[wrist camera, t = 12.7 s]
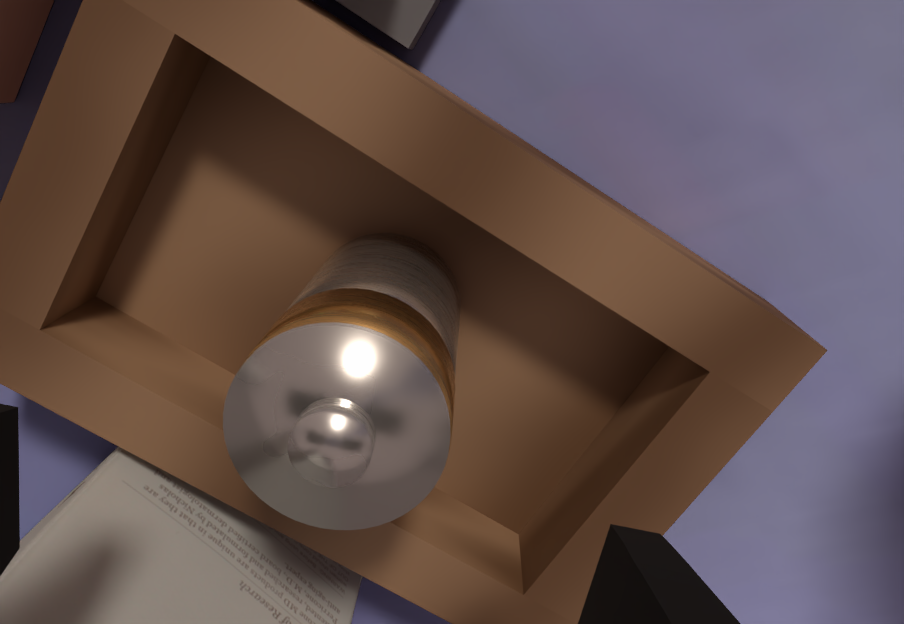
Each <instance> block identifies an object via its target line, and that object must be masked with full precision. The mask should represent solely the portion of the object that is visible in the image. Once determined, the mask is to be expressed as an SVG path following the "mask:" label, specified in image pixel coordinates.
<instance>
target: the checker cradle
mask: <svg viewBox="0 0 904 624" xmlns="http://www.w3.org/2000/svg"><path fill="white" fill-rule="evenodd" d="M336 1H337V2H339V3H340V4H342V5H343V6H345V7H346V8H348V9H349V10H351V11H352V12H354V13H355V14H357V15H358V16H360V17H361V18H363V19H364V20H366V21H367V22H369V23H370V24H372V25H373V26H375V27H376V28H378V29H379V30H381V31H382V32H384V33H385V34H387V35H388V36H390V37H392V38H393V39H395V40H396V41H398V42H399V43H401V44H402V45H404V46H405V47H407V48H408V49H412V50H413V48H414V47H415V45H416V43H417V41H418V40H419V38H420V36H421V34H422V33H423V31H424V29H425V27H426V26H427V24H428V22H429V20H430V19H431V17H432V15H433V13H434V12H435V10H436V8H437V6H438V5H439V3H440V1H441V0H336Z"/></svg>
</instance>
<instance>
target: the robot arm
mask: <svg viewBox="0 0 904 624" xmlns="http://www.w3.org/2000/svg"><path fill="white" fill-rule="evenodd" d="M19 548H20V536H19V441H18V407H14V406H9V405H4V404H0V576H1V575H2V573H3V572H4V570H5V569H6V567H7V566H8V564H9V563H10V561H11V560H12V559H13V557H14V556H15V554H16V553H17V551H18V550H19ZM578 624H740V623H739V621H738V620H737V619H736V618H735V617H734V616H733V615H732V613H731V612H730V611H729V610H728V609H727V608H726V607H725V605H724V604H723V603H722V602H721V601H720V600H719V599H718V597H717V596H716V595H715V594H714V593H713V592H712V591H711V589H710V588H709V587H708V586H707V585H706V584H705V583H704V581H703V580H702V579H701V578H700V577H699V576H698V575H697V573H696V572H695V571H694V570H693V569H692V568H691V567H690V565H689V564H688V563H687V562H686V561H685V560H684V559H683V558H682V556H681V555H680V554H679V553H678V552H677V551H676V550H675V549H674V548H673V547H672V545H671V544H670V543H669V542H668V541H667V540H666V539H665V538H664V537H663V536H662V535H661V534H659V533H654V532H649V531H644V530H639V529H634V528H629V527H624V526H619V525H614V524H610V527H609V530H608V534H607V537H606V540H605V543H604V546H603V549H602V552H601V555H600V558H599V561H598V564H597V567H596V570H595V573H594V576H593V579H592V582H591V585H590V588H589V591H588V594H587V597H586V600H585V604H584V607H583V610H582V613H581V616H580V619H579V622H578Z"/></svg>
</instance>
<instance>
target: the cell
mask: <svg viewBox="0 0 904 624" xmlns="http://www.w3.org/2000/svg"><path fill="white" fill-rule="evenodd" d="M460 313H461V300H460V293H459V289H458V285H457V282H456V280H455V278H454V275H453V273H452V272H451V270H450V268H449V267H448V265H447V264H446V263H445V262H444V260H443V259H442V258H441V257H440V256H439V255H438V254H437V253H436V252H435V251H434V250H432V249H431V248H429V247H428V246H427V245H425V244H423V243H421V242H420V241H418V240H415V239H413V238H410V237H408V236H404V235H400V234H393V233H374V234H368V235H364V236H361V237H358V238H355V239H353V240H351V241H349V242H347V243H345V244H344V245H342V246H341V247H339V248H338V249H337V250H336V251H334V252H333V254H332V255H331V256H330V257H329V258H328V259H327V260H326V261H325V263H324V264H323V265H322V266H321V268H320V269H319V270H318V271H317V273H316V274H315V275H314V276H313V278H312V279H311V280H310V281H309V283H308V284H307V285H306V286H305V288H304V289H303V290H302V291H301V293H300V294H299V295H298V296H297V298H296V299H295V300H294V301H293V303H292V304H291V305H290V306H289V308H288V309H287V310H286V311H285V313H284V314H283V315H282V316H281V317H280V318H279V319H278V320H277V321H276V322H275V323H274V325H273V326H272V327H271V328H270V330H269V331H268V332H267V333H266V334H265V336H264V337H263V338H262V339H261V341H260V342H259V343H258V344H257V346H256V347H255V348H254V349H253V351H252V352H251V353H250V354H249V356H248V357H247V358H246V359H245V361H244V362H243V364H242V365H241V367H240V368H239V369H238V371H237V373H236V375H235V377H234V379H233V381H232V383H231V385H230V387H229V390H228V393H227V396H226V399H225V404H224V411H223V431H224V438H225V443H226V446H227V450H228V453H229V456H230V458H231V460H232V462H233V465H234V467H235V468H236V470H237V472H238V473H239V475H240V477H241V478H242V479H243V481H244V482H245V483H246V484H247V486H248V487H249V488H250V489H251V490H252V491H253V492H254V493H255V494H256V495H257V496H258V497H259V498H260V499H261V500H262V501H264V502H265V503H266V504H268V505H269V506H270V507H272V508H273V509H275V510H276V511H278V512H280V513H281V514H283V515H285V516H287V517H289V518H291V519H293V520H295V521H298V522H301V523H304V524H307V525H310V526H315V527H319V528H324V529H332V530H358V529H366V528H370V527H375V526H379V525H382V524H385V523H388V522H390V521H393V520H395V519H397V518H399V517H401V516H403V515H404V514H406V513H407V512H409V511H410V510H412V509H413V508H415V507H416V506H417V505H418V504H419V503H420V502H421V501H423V500H424V499H425V497H426V496H427V495H428V494H429V493H430V492H431V490H432V489H433V488H434V486H435V485H436V483H437V481H438V480H439V478H440V476H441V474H442V472H443V469H444V467H445V464H446V460H447V457H448V453H449V450H450V445H451V437H452V426H453V413H454V401H455V374H456V362H457V350H458V338H459V325H460Z"/></svg>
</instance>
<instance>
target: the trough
mask: <svg viewBox="0 0 904 624" xmlns="http://www.w3.org/2000/svg"><path fill="white" fill-rule="evenodd" d="M374 233H393V234H400V235H404V236H408V237H410V238H413V239H415V240H418V241H420V242H421V243H423V244H425V245H427V246H428V247H429V248H431V249H432V250H434V251H435V252H436V253H437V254H438V255H439V256H440V257H441V258H442V259H443V260H444V262H445V263H446V264H447V265H448V267H449V268H450V270H451V272H452V273H453V275H454V278H455V280H456V282H457V285H458V289H459V293H460V300H461V313H460V325H459V338H458V350H457V362H456V374H455V401H454V413H453V426H452V437H451V445H450V450H449V453H448V457H447V460H446V464H445V467H444V469H443V472H442V474H441V476H440V478H439V480H438V481H437V483H436V485H435V486H434V488H433V489H432V490H431V492H430V493H429V494H428V495H427V496H426V497H425V499H424V500H423V501H421V502H420V503H419V504H418V505H417V506H416V507H415V508H413V509H412V510H410V511H409V512H407V513H406V514H404V515H403V516H401V517H399V518H397V519H395V520H393V521H390V522H388V523H385V524H382V525H379V526H375V527H370V528H366V529H358V530H332V529H324V528H319V527H315V526H310V525H307V524H304V523H301V522H298V521H295V520H293V519H291V518H289V517H287V516H285V515H283V514H281V513H280V512H278V511H276V510H275V509H273V508H272V507H270V506H269V505H268V504H266V503H265V502H264V501H262V500H261V499H260V498H259V497H258V496H257V495H256V494H255V493H254V492H253V491H252V490H251V489H250V488H249V487H248V486H247V484H246V483H245V482H244V481H243V479H242V478H241V477H240V475H239V473H238V472H237V470H236V468H235V467H234V465H233V462H232V460H231V458H230V456H229V453H228V450H227V446H226V443H225V438H224V431H223V411H224V404H225V399H226V396H227V393H228V390H229V387H230V385H231V383H232V381H233V379H234V377H235V375H236V373H237V371H238V369H239V368H240V367H241V365H242V364H243V362H244V361H245V359H246V358H247V357H248V356H249V354H250V353H251V352H252V351H253V349H254V348H255V347H256V346H257V344H258V343H259V342H260V341H261V339H262V338H263V337H264V336H265V334H266V333H267V332H268V331H269V330H270V328H271V327H272V326H273V325H274V323H275V322H276V321H277V320H278V319H279V318H280V317H281V316H282V315H283V314H284V313H285V311H286V310H287V309H288V308H289V306H290V305H291V304H292V303H293V301H294V300H295V299H296V298H297V296H298V295H299V294H300V293H301V291H302V290H303V289H304V288H305V286H306V285H307V284H308V283H309V281H310V280H311V279H312V278H313V276H314V275H315V274H316V273H317V271H318V270H319V269H320V268H321V266H322V265H323V264H324V263H325V261H326V260H327V259H328V258H329V257H330V256H331V255H332V254H333V252H334V251H336V250H337V249H338V248H339V247H341V246H342V245H344V244H345V243H347V242H349V241H351V240H353V239H355V238H358V237H361V236H364V235H368V234H374ZM826 351H827V350H826V349H825V348H824V347H823V346H821V345H820V344H819V343H818V342H817V341H815V340H814V339H813V338H812V337H810V336H809V335H808V334H807V333H806V332H804V331H803V330H802V329H801V328H800V327H798V326H797V325H796V324H795V323H793V322H792V321H791V320H790V319H789V318H787V317H786V316H785V315H784V314H782V313H781V312H780V311H779V310H778V309H776V308H775V307H774V306H773V305H771V304H770V303H769V302H768V301H766V300H765V299H763V298H762V297H760V296H759V295H757V294H756V293H754V292H752V291H751V290H749V289H748V288H746V287H745V286H743V285H742V284H740V283H739V282H737V281H736V280H734V279H733V278H731V277H730V276H728V275H727V274H725V273H724V272H722V271H721V270H719V269H718V268H716V267H715V266H713V265H712V264H710V263H709V262H707V261H706V260H704V259H703V258H701V257H700V256H698V255H696V254H695V253H693V252H692V251H690V250H689V249H687V248H686V247H684V246H683V245H681V244H680V243H678V242H677V241H675V240H674V239H672V238H671V237H669V236H668V235H666V234H665V233H663V232H662V231H660V230H659V229H657V228H656V227H654V226H653V225H651V224H650V223H648V222H647V221H645V220H644V219H642V218H640V217H639V216H637V215H636V214H634V213H633V212H631V211H630V210H628V209H627V208H625V207H624V206H622V205H621V204H619V203H618V202H616V201H615V200H613V199H612V198H610V197H609V196H607V195H606V194H604V193H603V192H601V191H600V190H598V189H597V188H595V187H594V186H592V185H591V184H589V183H588V182H586V181H584V180H583V179H581V178H580V177H578V176H577V175H575V174H574V173H572V172H571V171H569V170H568V169H566V168H565V167H563V166H562V165H560V164H559V163H557V162H556V161H554V160H553V159H551V158H550V157H548V156H547V155H545V154H544V153H542V152H541V151H539V150H538V149H536V148H535V147H533V146H531V145H530V144H528V143H527V142H525V141H524V140H522V139H521V138H519V137H518V136H516V135H515V134H513V133H512V132H510V131H509V130H507V129H506V128H504V127H503V126H501V125H500V124H498V123H497V122H495V121H494V120H492V119H491V118H489V117H488V116H486V115H485V114H483V113H482V112H480V111H479V110H477V109H475V108H474V107H472V106H471V105H469V104H468V103H466V102H465V101H463V100H462V99H460V98H459V97H457V96H456V95H454V94H453V93H451V92H450V91H448V90H447V89H445V88H444V87H442V86H441V85H439V84H438V83H436V82H435V81H433V80H432V79H430V78H429V77H427V76H426V75H424V74H423V73H421V72H419V71H418V70H416V69H415V68H413V67H412V66H410V65H409V64H407V63H406V62H404V61H403V60H401V59H400V58H398V57H397V56H395V55H394V54H392V53H391V52H389V51H388V50H386V49H385V48H383V47H382V46H380V45H379V44H377V43H376V42H374V41H373V40H371V39H370V38H368V37H367V36H365V35H363V34H362V33H360V32H359V31H357V30H356V29H354V28H353V27H351V26H350V25H348V24H347V23H345V22H344V21H342V20H341V19H339V18H338V17H336V16H335V15H333V14H332V13H330V12H329V11H327V10H326V9H324V8H323V7H321V6H320V5H318V4H317V3H315V2H314V1H312V0H83V1H82V3H81V6H80V8H79V11H78V13H77V16H76V18H75V21H74V23H73V26H72V28H71V30H70V33H69V35H68V38H67V40H66V43H65V45H64V48H63V50H62V53H61V55H60V57H59V60H58V62H57V65H56V67H55V70H54V72H53V75H52V77H51V80H50V82H49V84H48V87H47V89H46V92H45V94H44V97H43V99H42V102H41V104H40V107H39V109H38V111H37V114H36V116H35V119H34V121H33V124H32V126H31V129H30V131H29V134H28V136H27V138H26V141H25V143H24V146H23V148H22V151H21V153H20V156H19V158H18V161H17V163H16V165H15V168H14V170H13V173H12V175H11V178H10V180H9V183H8V185H7V188H6V190H5V192H4V195H3V197H2V200H1V202H0V384H2V385H4V386H6V387H8V388H10V389H12V390H13V391H15V392H17V393H19V394H21V395H23V396H25V397H27V398H28V399H30V400H32V401H34V402H36V403H38V404H40V405H42V406H44V407H45V408H47V409H49V410H51V411H53V412H55V413H57V414H59V415H60V416H62V417H64V418H66V419H68V420H70V421H72V422H74V423H75V424H77V425H79V426H81V427H83V428H85V429H87V430H89V431H91V432H92V433H94V434H96V435H98V436H100V437H102V438H104V439H106V440H107V441H109V442H111V443H113V444H115V445H117V446H119V447H121V448H123V449H124V450H126V451H128V452H130V453H132V454H134V455H136V456H138V457H139V458H141V459H143V460H145V461H147V462H149V463H151V464H153V465H154V466H156V467H158V468H160V469H162V470H164V471H166V472H168V473H170V474H171V475H173V476H175V477H177V478H179V479H181V480H183V481H185V482H186V483H188V484H190V485H192V486H194V487H196V488H198V489H200V490H201V491H203V492H205V493H207V494H209V495H211V496H213V497H215V498H217V499H218V500H220V501H222V502H224V503H226V504H228V505H230V506H232V507H233V508H235V509H237V510H239V511H241V512H243V513H245V514H247V515H249V516H250V517H252V518H254V519H256V520H258V521H260V522H262V523H264V524H265V525H267V526H269V527H271V528H273V529H275V530H277V531H279V532H280V533H282V534H284V535H286V536H288V537H290V538H292V539H294V540H296V541H297V542H299V543H301V544H303V545H305V546H307V547H309V548H311V549H312V550H314V551H316V552H318V553H320V554H322V555H324V556H326V557H327V558H329V559H331V560H333V561H335V562H337V563H339V564H341V565H343V566H344V567H346V568H348V569H350V570H352V571H354V572H356V573H358V574H359V575H361V576H363V577H365V578H367V579H369V580H371V581H373V582H374V583H376V584H378V585H380V586H382V587H384V588H386V589H388V590H390V591H391V592H393V593H395V594H397V595H399V596H401V597H403V598H405V599H406V600H408V601H410V602H412V603H414V604H416V605H418V606H420V607H422V608H423V609H425V610H427V611H429V612H431V613H433V614H435V615H437V616H438V617H440V618H442V619H444V620H446V621H448V622H450V623H452V624H578V622H579V619H580V616H581V613H582V610H583V607H584V604H585V600H586V597H587V594H588V591H589V588H590V585H591V582H592V579H593V576H594V573H595V570H596V567H597V564H598V561H599V558H600V555H601V552H602V549H603V546H604V543H605V540H606V537H607V534H608V530H609V527H610V524H614V525H619V526H624V527H629V528H634V529H639V530H644V531H649V532H654V533H659V534H661V535H662V536H663V535H664V533H665V532H666V531H667V530H668V529H669V528H670V527H671V526H672V524H673V523H674V522H675V521H676V520H677V519H678V518H679V517H680V515H681V514H682V513H683V512H684V511H685V510H686V509H687V508H688V506H689V505H690V504H691V503H692V502H693V501H694V500H695V499H696V497H697V496H698V495H699V494H700V493H701V492H702V491H703V490H704V488H705V487H706V486H707V485H708V484H709V483H710V482H711V481H712V479H713V478H714V477H715V476H716V475H717V474H718V473H719V472H720V470H721V469H722V468H723V467H724V466H725V465H726V464H727V463H728V462H729V460H730V459H731V458H732V457H733V456H734V455H735V454H736V453H737V451H738V450H739V449H740V448H741V447H742V446H743V445H744V444H745V442H746V441H747V440H748V439H749V438H750V437H751V436H752V435H753V433H754V432H755V431H756V430H757V429H758V428H759V427H760V426H761V424H762V423H763V422H764V421H765V420H766V419H767V418H768V417H769V415H770V414H771V413H772V412H773V411H774V410H775V409H776V408H777V406H778V405H779V404H780V403H781V402H782V401H783V400H784V399H785V397H786V396H787V395H788V394H789V393H790V392H791V391H792V390H793V388H794V387H795V386H796V385H797V384H798V383H799V382H800V381H801V379H802V378H803V377H804V376H805V375H806V374H807V373H808V372H809V370H810V369H811V368H812V367H813V366H814V365H815V364H816V363H817V362H818V360H819V359H820V358H821V357H822V356H823V355H824V354H825V353H826Z"/></svg>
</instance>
